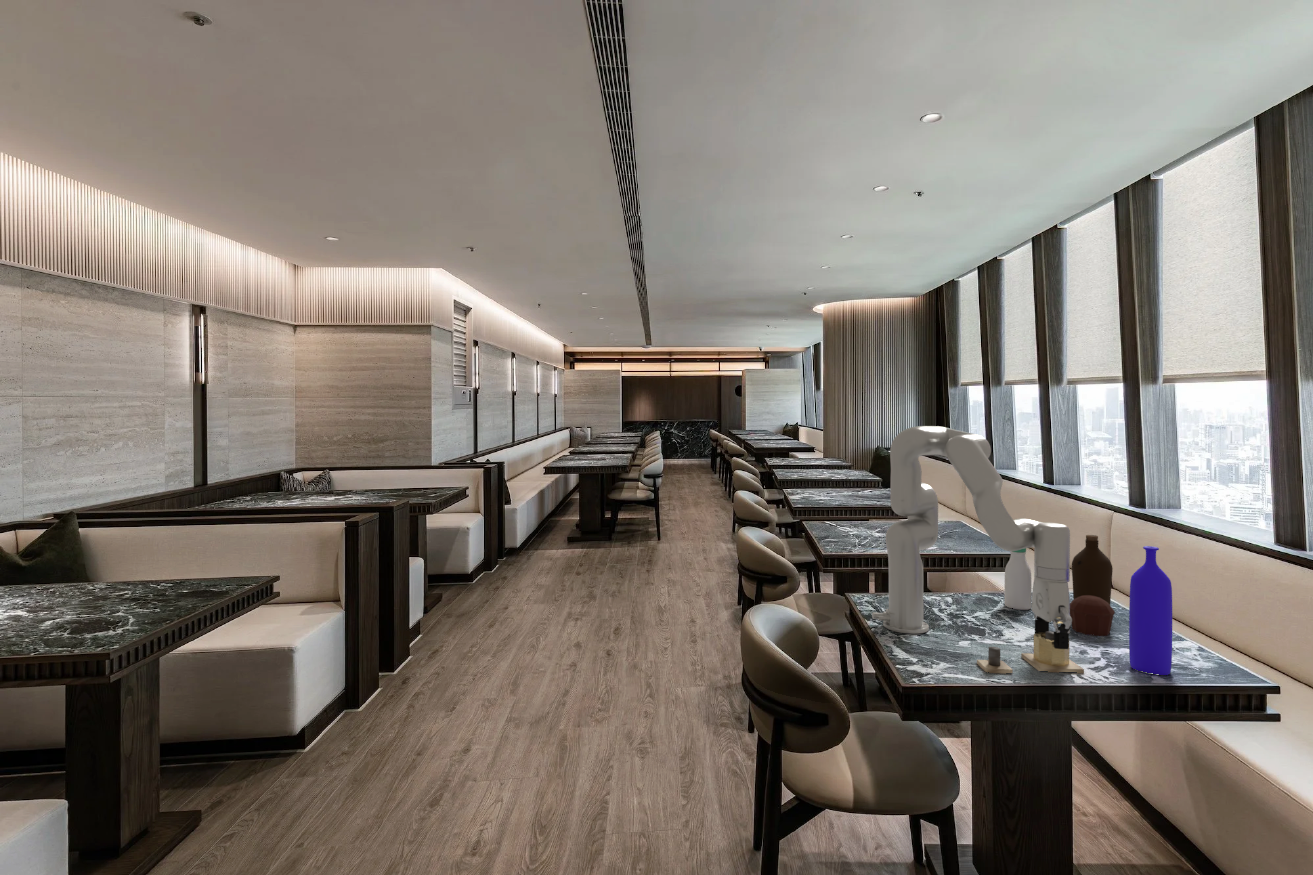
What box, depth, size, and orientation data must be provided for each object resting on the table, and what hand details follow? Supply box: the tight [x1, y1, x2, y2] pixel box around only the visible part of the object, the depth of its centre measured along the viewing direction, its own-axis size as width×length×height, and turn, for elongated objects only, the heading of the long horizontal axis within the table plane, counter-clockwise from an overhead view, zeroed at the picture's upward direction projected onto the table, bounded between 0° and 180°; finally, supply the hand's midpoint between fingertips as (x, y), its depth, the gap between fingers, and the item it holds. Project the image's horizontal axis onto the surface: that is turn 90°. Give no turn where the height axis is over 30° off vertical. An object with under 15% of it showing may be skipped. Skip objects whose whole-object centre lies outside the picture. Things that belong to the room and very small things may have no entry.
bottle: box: [1128, 545, 1173, 676], centre depth 156 cm, size 8×8×30 cm
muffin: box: [1070, 595, 1116, 637], centre depth 185 cm, size 12×11×10 cm
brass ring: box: [1033, 632, 1070, 666], centre depth 160 cm, size 7×7×6 cm
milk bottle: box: [1004, 548, 1033, 611], centre depth 210 cm, size 8×8×20 cm
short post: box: [976, 646, 1014, 674], centre depth 157 cm, size 6×6×5 cm
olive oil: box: [1071, 534, 1114, 606], centre depth 201 cm, size 11×11×25 cm
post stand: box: [1020, 630, 1085, 674], centre depth 159 cm, size 10×10×8 cm
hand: (1051, 641), depth 159 cm, fingers open, 9 cm apart
